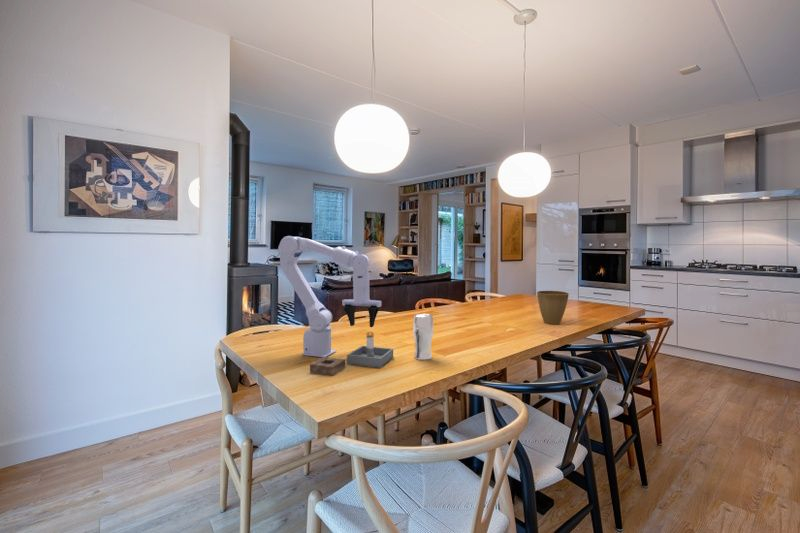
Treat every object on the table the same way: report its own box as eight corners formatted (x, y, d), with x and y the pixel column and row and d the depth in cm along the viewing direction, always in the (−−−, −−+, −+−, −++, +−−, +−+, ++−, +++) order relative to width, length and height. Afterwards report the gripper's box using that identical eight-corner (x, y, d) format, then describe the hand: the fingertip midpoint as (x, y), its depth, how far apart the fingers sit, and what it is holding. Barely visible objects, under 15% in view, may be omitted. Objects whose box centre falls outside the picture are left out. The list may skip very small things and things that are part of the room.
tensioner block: (310, 372, 111) (309, 364, 111) (323, 364, 119) (323, 356, 119) (332, 375, 109) (332, 367, 109) (345, 367, 116) (345, 359, 116)
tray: (346, 363, 119) (346, 354, 119) (362, 353, 131) (362, 345, 131) (380, 368, 115) (380, 358, 115) (393, 357, 127) (393, 348, 127)
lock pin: (365, 359, 122) (365, 333, 122) (369, 357, 124) (368, 331, 124) (371, 360, 121) (371, 334, 121) (375, 358, 123) (374, 332, 123)
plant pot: (532, 320, 193) (533, 290, 192) (561, 320, 191) (562, 290, 191) (540, 326, 178) (541, 293, 177) (572, 326, 177) (573, 294, 176)
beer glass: (427, 362, 122) (427, 318, 121) (409, 358, 125) (409, 315, 125) (436, 356, 128) (436, 314, 127) (419, 353, 131) (419, 312, 130)
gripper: (337, 289, 127) (338, 327, 128) (375, 290, 122) (376, 329, 123) (347, 286, 134) (347, 323, 134) (383, 287, 129) (384, 325, 130)
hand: (362, 326), depth 129 cm, fingers open, 7 cm apart
